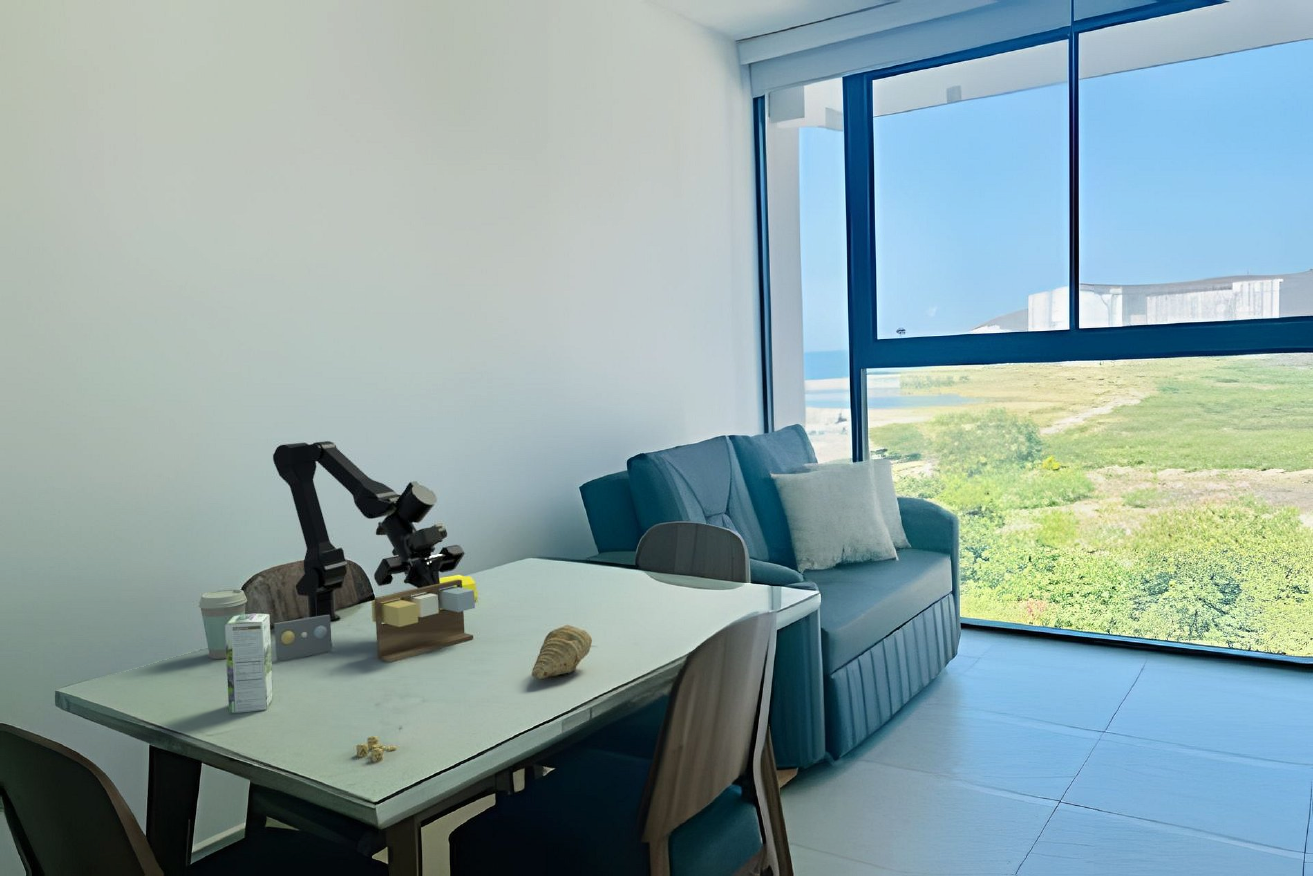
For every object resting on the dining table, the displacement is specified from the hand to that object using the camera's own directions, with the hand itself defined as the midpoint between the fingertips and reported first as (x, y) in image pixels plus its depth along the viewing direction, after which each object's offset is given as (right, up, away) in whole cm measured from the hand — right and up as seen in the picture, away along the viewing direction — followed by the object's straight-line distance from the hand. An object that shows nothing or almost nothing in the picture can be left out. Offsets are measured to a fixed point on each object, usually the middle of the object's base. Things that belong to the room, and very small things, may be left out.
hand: (439, 597), depth 193 cm
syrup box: (-22, -12, -38) cm, 45 cm away
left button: (-5, -3, -13) cm, 14 cm away
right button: (+3, -2, -3) cm, 5 cm away
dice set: (+4, -13, -59) cm, 61 cm away
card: (-24, -10, -9) cm, 27 cm away
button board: (-1, -9, -7) cm, 11 cm away
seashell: (+27, -9, -28) cm, 40 cm away
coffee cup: (-40, -10, -6) cm, 41 cm away
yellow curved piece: (-4, -7, +27) cm, 28 cm away
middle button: (-3, -2, -6) cm, 7 cm away
